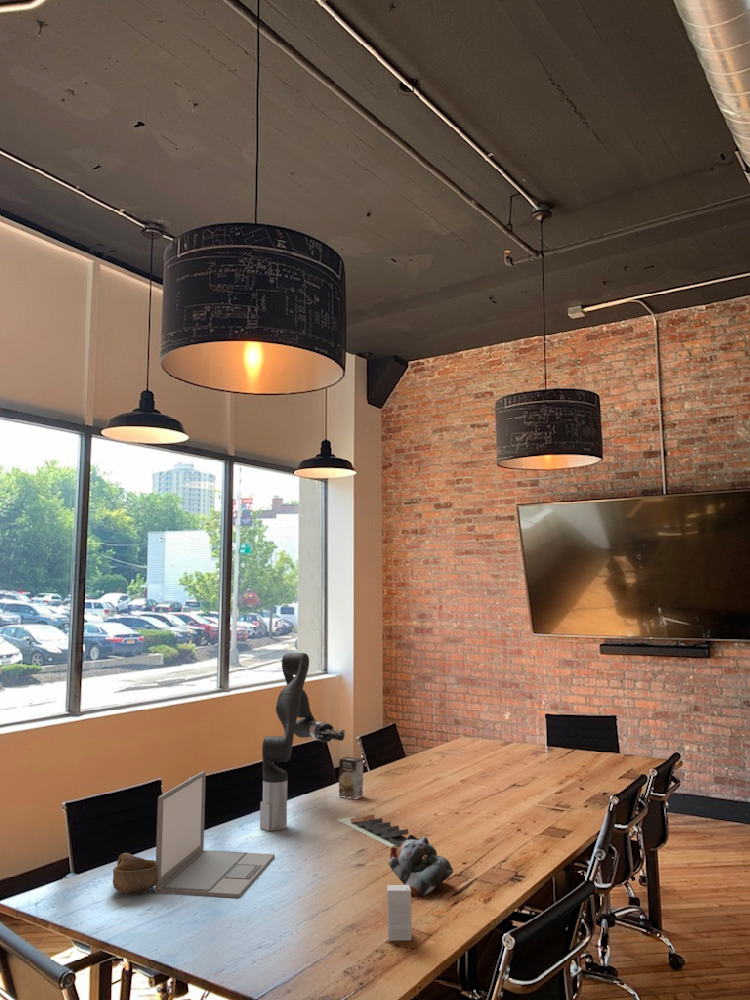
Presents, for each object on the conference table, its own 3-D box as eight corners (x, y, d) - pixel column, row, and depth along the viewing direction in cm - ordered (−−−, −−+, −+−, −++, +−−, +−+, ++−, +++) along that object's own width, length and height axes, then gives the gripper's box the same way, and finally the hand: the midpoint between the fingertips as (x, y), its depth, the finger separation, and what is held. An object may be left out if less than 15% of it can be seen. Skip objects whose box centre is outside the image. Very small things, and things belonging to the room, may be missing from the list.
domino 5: (381, 833, 269) (395, 831, 262) (393, 831, 272) (407, 828, 264) (382, 838, 269) (396, 836, 261) (393, 836, 271) (408, 833, 264)
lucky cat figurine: (417, 901, 213) (393, 847, 218) (398, 905, 224) (375, 853, 229) (462, 873, 222) (437, 821, 227) (442, 878, 233) (419, 828, 238)
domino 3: (364, 825, 279) (378, 823, 271) (376, 823, 282) (390, 821, 274) (365, 830, 278) (379, 828, 271) (377, 828, 281) (390, 826, 273)
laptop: (239, 898, 217) (241, 800, 220) (153, 893, 221) (157, 796, 224) (274, 858, 251) (275, 773, 254) (200, 854, 255) (202, 770, 258)
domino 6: (389, 837, 265) (405, 845, 257) (401, 835, 268) (417, 842, 259) (389, 842, 265) (405, 850, 256) (401, 839, 267) (417, 847, 259)
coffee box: (338, 797, 327) (338, 758, 329) (346, 793, 333) (346, 756, 335) (355, 799, 322) (355, 761, 324) (363, 796, 328) (363, 758, 330)
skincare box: (410, 933, 193) (410, 884, 195) (411, 941, 189) (411, 890, 190) (386, 933, 193) (386, 884, 195) (387, 941, 189) (387, 890, 190)
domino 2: (357, 821, 284) (370, 820, 276) (368, 819, 286) (382, 818, 279) (358, 826, 283) (371, 824, 276) (369, 824, 286) (382, 822, 278)
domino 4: (372, 829, 274) (386, 827, 267) (384, 827, 277) (398, 825, 269) (373, 834, 274) (387, 832, 266) (385, 831, 276) (399, 830, 269)
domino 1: (350, 818, 288) (362, 816, 281) (361, 816, 291) (374, 814, 283) (350, 822, 288) (363, 820, 280) (362, 820, 290) (374, 818, 283)
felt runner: (336, 820, 292) (336, 819, 292) (359, 816, 297) (359, 815, 297) (389, 847, 260) (389, 846, 260) (413, 842, 265) (413, 841, 265)
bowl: (89, 886, 222) (98, 849, 225) (127, 886, 232) (136, 851, 235) (125, 900, 211) (135, 861, 215) (164, 899, 221) (173, 862, 225)
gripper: (307, 723, 314) (327, 729, 299) (335, 721, 321) (356, 726, 306) (307, 742, 313) (327, 749, 298) (335, 739, 320) (355, 745, 305)
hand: (341, 737), depth 302 cm, fingers closed
